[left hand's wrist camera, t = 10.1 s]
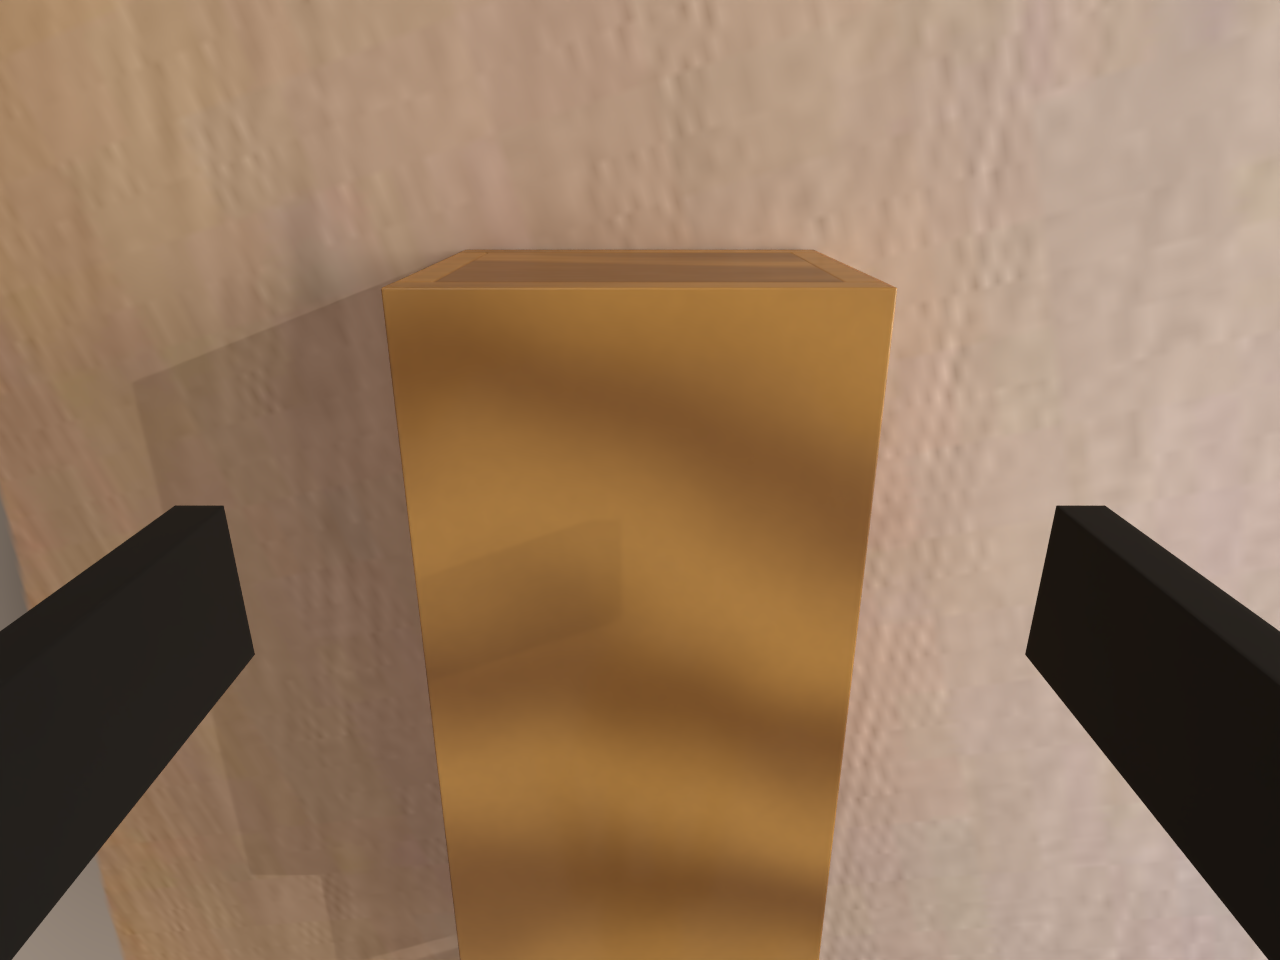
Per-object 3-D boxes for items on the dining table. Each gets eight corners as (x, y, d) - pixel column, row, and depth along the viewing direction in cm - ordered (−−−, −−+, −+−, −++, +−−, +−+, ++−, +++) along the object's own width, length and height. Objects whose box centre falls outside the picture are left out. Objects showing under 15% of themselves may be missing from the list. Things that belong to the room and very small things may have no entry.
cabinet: (771, 799, 32) (814, 1002, 25) (507, 799, 32) (464, 1001, 25) (815, 249, 24) (898, 287, 17) (463, 249, 24) (379, 287, 17)
